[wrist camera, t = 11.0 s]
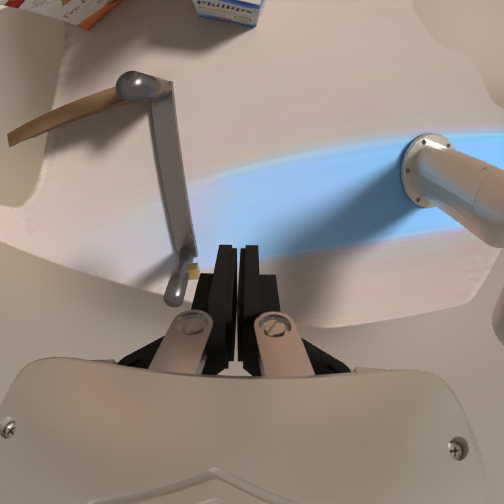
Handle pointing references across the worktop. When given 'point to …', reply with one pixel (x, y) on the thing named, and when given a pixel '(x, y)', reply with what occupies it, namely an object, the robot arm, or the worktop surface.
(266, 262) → the worktop surface
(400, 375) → the robot arm
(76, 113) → the gate
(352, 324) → the worktop surface
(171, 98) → the gate frame
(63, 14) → the cracker box
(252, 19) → the medicine box
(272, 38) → the worktop surface
